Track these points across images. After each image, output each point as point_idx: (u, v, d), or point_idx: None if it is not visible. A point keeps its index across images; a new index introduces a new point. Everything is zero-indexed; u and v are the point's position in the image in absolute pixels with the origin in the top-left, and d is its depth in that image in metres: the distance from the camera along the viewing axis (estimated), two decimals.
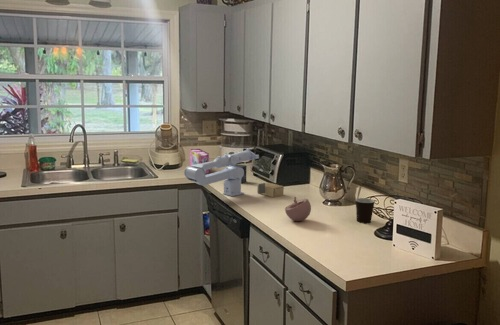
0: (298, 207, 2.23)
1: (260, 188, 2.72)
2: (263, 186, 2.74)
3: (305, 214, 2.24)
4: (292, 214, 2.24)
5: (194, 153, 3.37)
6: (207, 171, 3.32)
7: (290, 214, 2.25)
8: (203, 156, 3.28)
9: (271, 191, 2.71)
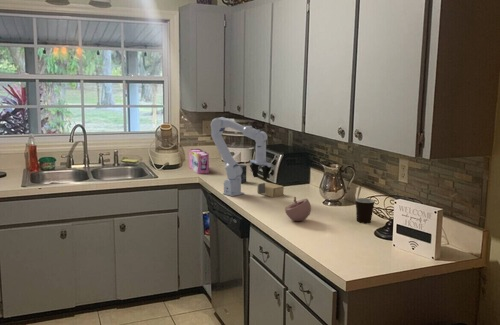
0: (298, 207, 2.23)
1: (260, 188, 2.72)
2: (263, 186, 2.74)
3: (305, 214, 2.24)
4: (292, 214, 2.24)
5: (194, 153, 3.37)
6: (207, 171, 3.32)
7: (290, 214, 2.25)
8: (203, 156, 3.28)
9: (271, 191, 2.71)
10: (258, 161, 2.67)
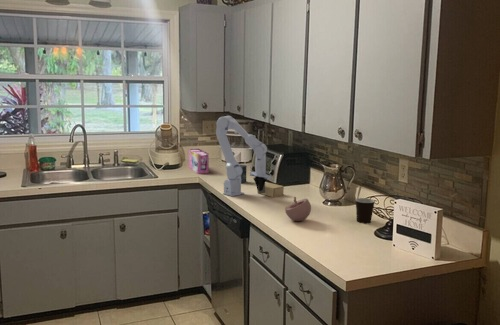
0: (298, 207, 2.23)
1: None
2: None
3: (305, 214, 2.24)
4: (292, 214, 2.24)
5: (193, 153, 3.37)
6: (207, 171, 3.32)
7: (290, 214, 2.25)
8: (203, 156, 3.29)
9: (271, 191, 2.71)
10: (258, 173, 2.68)
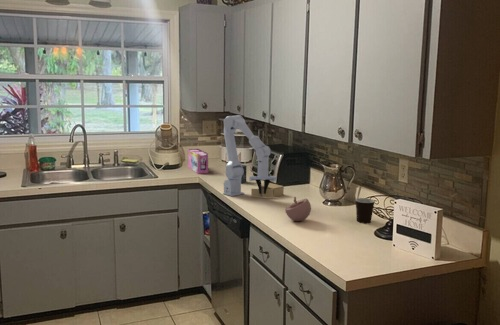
0: (298, 207, 2.23)
1: (262, 191, 2.66)
2: None
3: (305, 214, 2.24)
4: (292, 214, 2.24)
5: (193, 153, 3.37)
6: (206, 171, 3.33)
7: (290, 214, 2.25)
8: (202, 156, 3.29)
9: (271, 192, 2.70)
10: (265, 176, 2.62)
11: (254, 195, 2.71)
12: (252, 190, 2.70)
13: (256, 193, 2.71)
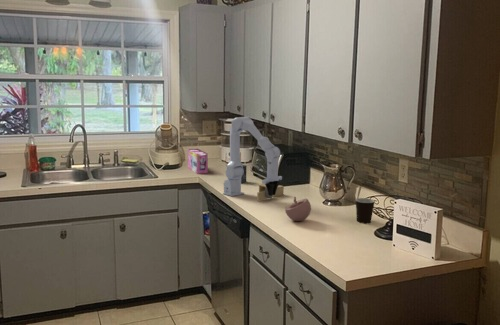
0: (298, 207, 2.23)
1: None
2: None
3: (305, 214, 2.24)
4: (292, 214, 2.24)
5: (192, 153, 3.37)
6: (206, 171, 3.33)
7: (290, 214, 2.25)
8: (202, 156, 3.29)
9: None
10: (277, 177, 2.60)
11: (260, 199, 2.63)
12: (258, 194, 2.62)
13: (261, 197, 2.64)
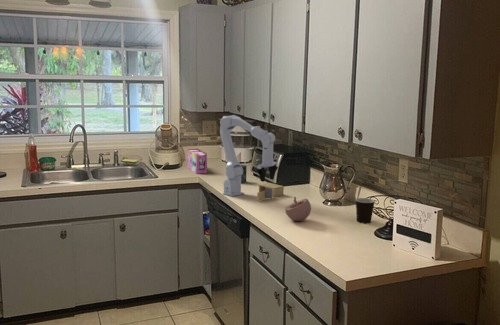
0: (298, 207, 2.23)
1: None
2: None
3: (305, 214, 2.24)
4: (292, 214, 2.24)
5: (192, 153, 3.37)
6: (205, 171, 3.32)
7: (290, 214, 2.25)
8: (201, 156, 3.29)
9: (272, 192, 2.69)
10: (272, 163, 2.64)
11: (260, 199, 2.63)
12: (258, 194, 2.62)
13: (261, 197, 2.64)
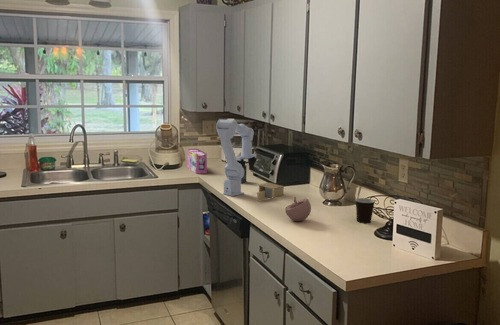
0: (298, 207, 2.23)
1: None
2: None
3: (305, 214, 2.24)
4: (292, 214, 2.24)
5: (192, 153, 3.37)
6: (205, 171, 3.32)
7: (290, 214, 2.25)
8: (201, 156, 3.29)
9: (272, 192, 2.69)
10: (251, 155, 2.87)
11: (260, 199, 2.63)
12: (258, 194, 2.62)
13: (261, 197, 2.64)
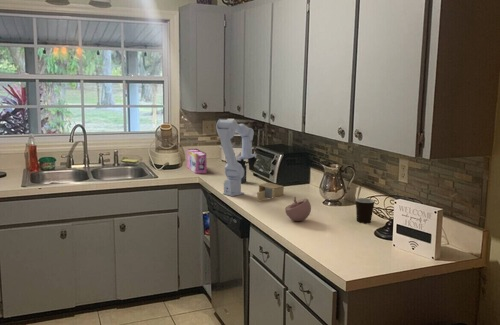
0: (298, 207, 2.23)
1: None
2: None
3: (305, 214, 2.24)
4: (292, 214, 2.24)
5: (191, 153, 3.37)
6: (204, 171, 3.32)
7: (290, 214, 2.25)
8: (200, 156, 3.29)
9: (272, 192, 2.69)
10: (251, 155, 2.87)
11: (260, 199, 2.63)
12: (258, 194, 2.62)
13: (261, 197, 2.64)
